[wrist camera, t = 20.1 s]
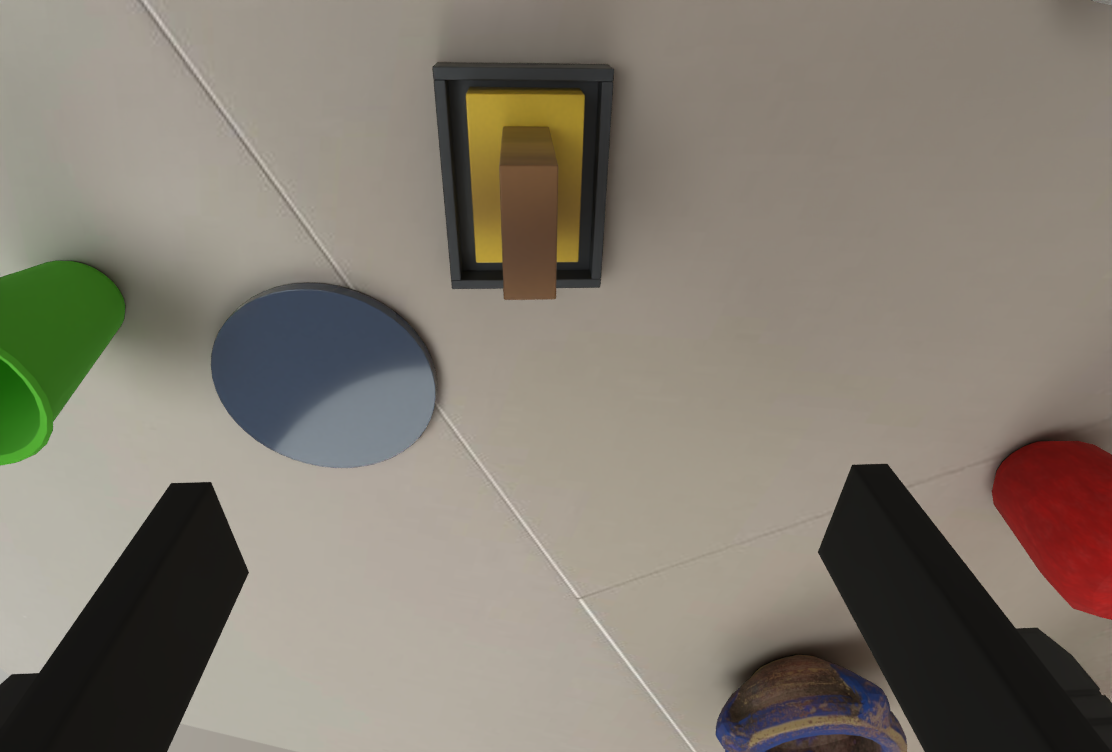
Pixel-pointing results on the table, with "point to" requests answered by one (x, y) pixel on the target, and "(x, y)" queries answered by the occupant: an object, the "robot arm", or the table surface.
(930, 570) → the robot arm
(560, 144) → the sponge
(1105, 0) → the mug
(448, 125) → the dish
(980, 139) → the table surface
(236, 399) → the plate
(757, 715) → the bowl
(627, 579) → the table surface
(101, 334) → the cup
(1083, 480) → the apple
